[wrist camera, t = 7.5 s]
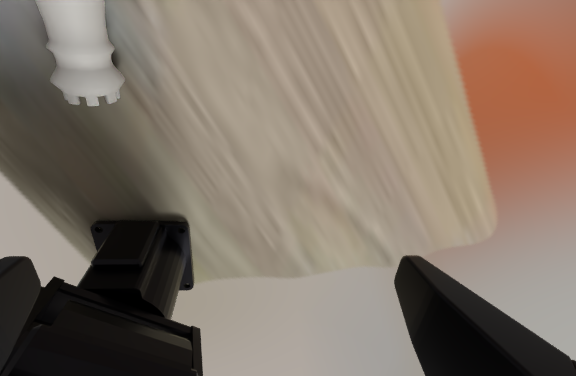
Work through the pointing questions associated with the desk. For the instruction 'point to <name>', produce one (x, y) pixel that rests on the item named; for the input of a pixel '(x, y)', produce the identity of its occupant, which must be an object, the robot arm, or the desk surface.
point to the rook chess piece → (81, 50)
